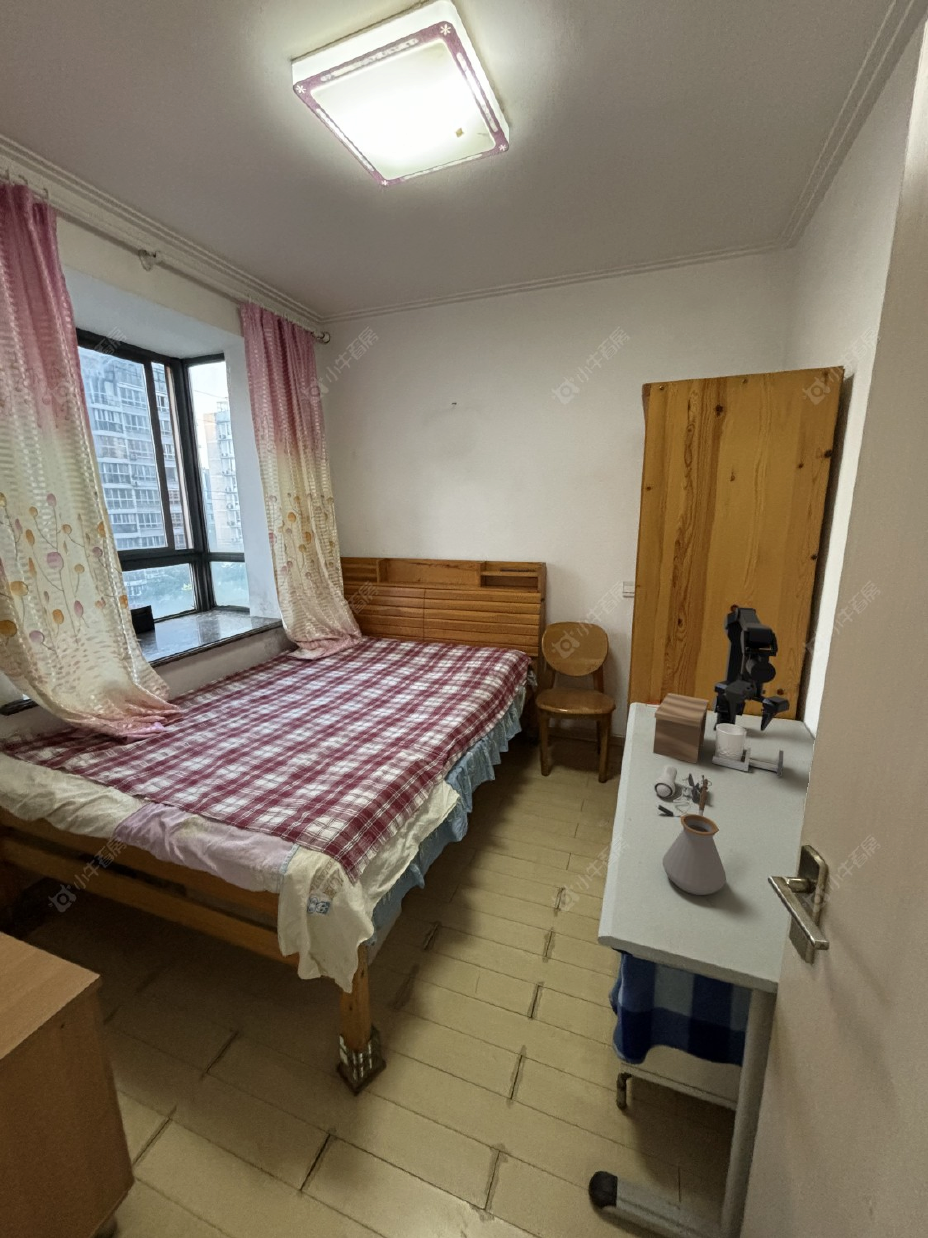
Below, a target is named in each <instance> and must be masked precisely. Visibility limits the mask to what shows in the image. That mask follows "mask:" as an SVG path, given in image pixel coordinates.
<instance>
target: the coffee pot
mask: <svg viewBox="0 0 928 1238" xmlns="http://www.w3.org/2000/svg"><path fill="white" fill-rule="evenodd" d="M701 781H704V782H703V783H701V784H703V786H702V789H703V790H702V792H701V794H700V796H699V806H698V808H699V809H698V814H697V813H695V814H694V813H688V814H685V815H684V814H683V815H682V817H681V818H680V824H681V825H682V826H683V828H682V830H681V832H680V833H679V835H677V837H676V839H675V840H674V842H672V844H671V845H670V847H669V848H668V849H667V851H666V852H665V854H664V856H663V858H662V866H663V868H664V872H665V874H666V875H667V876H668V878H669V879H670V881H672V882H673V884H675V886H677V887H678V888H679V889H680V890H682V891H684V892H686V893H689V894H692V895H695V896H707V895H711V894H713V893H717V892H719V891H720V889H722V888H723V887H724V885H725V884H726V881H727V875H726V871H725V868H724V865H723V862H722V859H721V856H720V855H719V854H720V853H719V851H718V849H717V845H716V843H715V840H714V838H713V837H714V836H715V835H716V834H717V833H718V832H720V830H719V827H718V826H717V824H716V823H715V822H714V821H713V820H711V819H710V818H708V817H706V816H703V815H704V811H705V807H706V802H707V800H708V799H707V798H708V794H707V791H708V790H709V787H711V786H712V785H713V783H712V782H711V781H710V780H708V779H707V778H704V780H701ZM709 783H710V784H709Z"/></svg>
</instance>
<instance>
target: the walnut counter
mask: <svg viewBox="0 0 928 1238" xmlns="http://www.w3.org/2000/svg"><path fill="white" fill-rule="evenodd" d="M662 700H663V701H661V703H660V705H659V706H658V708H657V709H656V710H655V712H654V718H655V727H654V736H653V737H654V738H653V739H654V740H653V749H652V750H653V751H652V753H653V754H655V755H657V754H658V755H661V756H665V757H669V758H672V759H677V760H681V761H685V762H689V763H694V764H697V763H698V758H699V757H698V755H699V748H700V747H703V746H704V744H705V743H704V742H705V736H706V735H705V733H706V726H707V725H706V723H707V717H708V708H709V705H710V700H708V699H703V698H698V697H694V696H693V697H692V696H687V695H681V694H677V693H669V692H668V693H667V694H666V696H665V697H664V699H662ZM699 746H700V747H699Z"/></svg>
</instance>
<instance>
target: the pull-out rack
mask: <svg viewBox="0 0 928 1238" xmlns="http://www.w3.org/2000/svg"><path fill="white" fill-rule="evenodd" d="M778 751H779V752H778V757H777V758H778V759H777V763H776V764H773V763H769V762H764V761H760V760H755V759H751V752H752V748H751V747H747V748H744V749H743V754H742V756H743V757H745V759H744V762H743V761H741V762H739V761H735V760H731V759H726V758H722V757H718V756H715V755H713V756H712V764H716V765H719V766H722V767H723V766H725V767H728V768H731V769H736V770H741V771H744V772H748V771H749V766H751V767H756V768H759V769H765V770H769V771H773V772H776V777H779V778H782V773H783V765H784V750H782V749H781V750H780V749H779V750H778Z"/></svg>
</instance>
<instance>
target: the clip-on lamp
mask: <svg viewBox="0 0 928 1238" xmlns="http://www.w3.org/2000/svg"><path fill="white" fill-rule="evenodd" d="M677 776H678V771H677V768H676V767H675V766H674V765H671V764H665V765H664V766H663V768H662V771H661V773H660V776H659V777H657V778H656V780H655V781H654V783H653V790H654V792H655V793H656V794H657V795H658V796H660V797H662V798H671V797H672V796H674V794H675V793H676V786H678V787H681V788H683V789H682V791H681V792H682V793H681V796H680V797H677V798H675V799H673V803H687V804H689V806H688V807H687V808H686V809H685V811H683V812H681V813H679V814H674V812H673V811H671V810H670V809H668V808H666V807H665V806H663V805H661V804H658V805H657V804H655V807H656V808H657V809H658V810H659V811H660V812H662V813H664V814H666V816H667V815H668V816H669V817H680V816H683V815H684V814H685V813H687V812H688V810H690V809H691V807H692V803H695V801H696V797H697V793H699V794H700V795H701V792H702V790H703V789H702V786H703V784H701V783H703V782H704V781H701V780H705V775H704V774H702V775H701V778H699V779H697V777H695V776H694V775H693V774H692V773H689V774H688V777H685V778H682V781H683V782H684V781H685V783H683V782H679V781H678V780H676V779H677ZM687 781H688V782H687ZM687 790H690V792H691V796H692V797H691V800H692V802H691V801H689V800H685V799H682V798H683V797H684V792H687ZM681 799H682V800H681Z"/></svg>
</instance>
